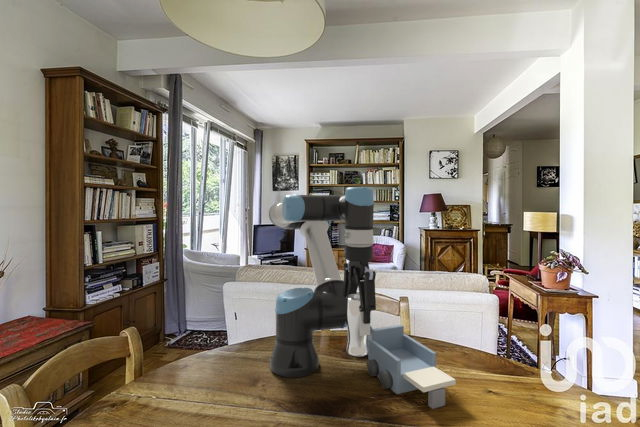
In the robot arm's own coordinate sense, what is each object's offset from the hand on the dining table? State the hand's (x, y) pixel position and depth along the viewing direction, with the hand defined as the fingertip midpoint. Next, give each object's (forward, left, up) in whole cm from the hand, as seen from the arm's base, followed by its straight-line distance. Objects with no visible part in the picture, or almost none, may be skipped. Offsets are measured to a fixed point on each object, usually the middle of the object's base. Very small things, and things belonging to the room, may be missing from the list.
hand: (358, 329), depth 89 cm
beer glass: (0, 0, -6) cm, 6 cm away
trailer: (+10, +12, -17) cm, 23 cm away
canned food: (-13, +22, -17) cm, 31 cm away
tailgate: (+13, +10, -11) cm, 20 cm away
